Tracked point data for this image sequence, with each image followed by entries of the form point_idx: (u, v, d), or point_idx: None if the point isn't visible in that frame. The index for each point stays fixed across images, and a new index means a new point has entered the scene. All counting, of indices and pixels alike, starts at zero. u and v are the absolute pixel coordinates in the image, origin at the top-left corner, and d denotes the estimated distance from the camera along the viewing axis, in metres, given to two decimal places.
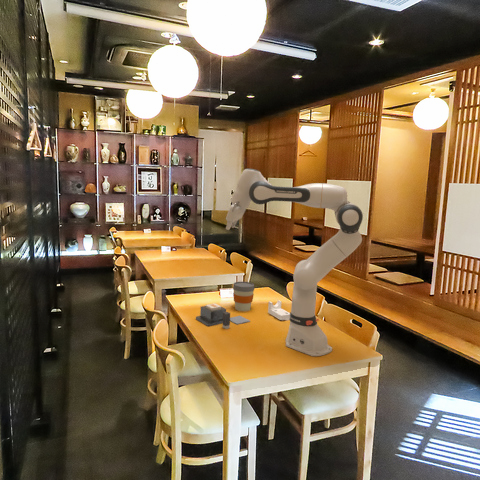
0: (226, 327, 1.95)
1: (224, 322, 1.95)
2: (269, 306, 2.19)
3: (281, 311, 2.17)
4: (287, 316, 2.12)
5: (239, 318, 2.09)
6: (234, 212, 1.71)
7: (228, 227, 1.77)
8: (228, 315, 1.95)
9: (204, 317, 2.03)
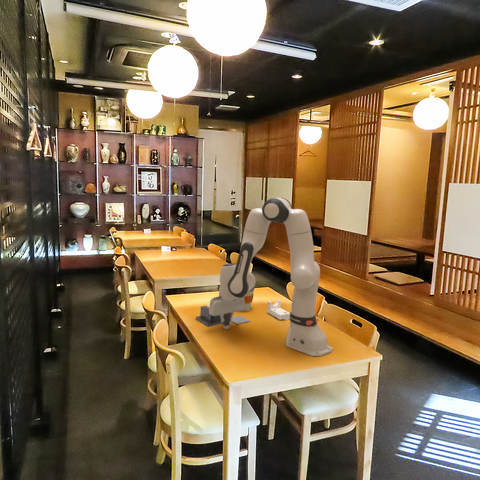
0: (226, 327, 1.95)
1: (224, 322, 1.95)
2: (268, 306, 2.20)
3: (280, 310, 2.17)
4: (286, 316, 2.12)
5: (239, 318, 2.09)
6: (212, 307, 1.88)
7: (222, 319, 1.94)
8: (228, 315, 1.95)
9: (204, 317, 2.03)
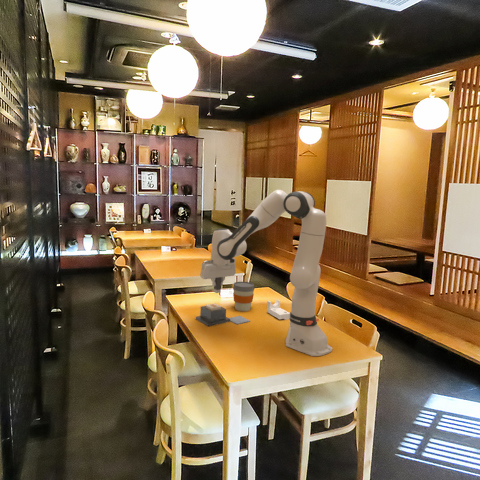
0: (217, 291, 1.99)
1: (215, 286, 1.99)
2: (268, 305, 2.20)
3: (280, 310, 2.18)
4: (286, 315, 2.13)
5: (239, 318, 2.09)
6: (204, 270, 1.91)
7: (213, 283, 1.97)
8: (219, 279, 1.98)
9: (204, 317, 2.03)
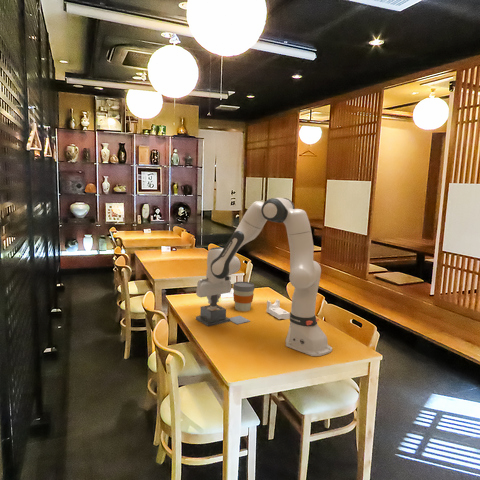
0: (213, 308, 2.03)
1: (211, 303, 2.03)
2: (267, 305, 2.21)
3: (280, 310, 2.18)
4: (285, 315, 2.13)
5: (239, 318, 2.09)
6: (199, 288, 1.96)
7: (209, 301, 2.02)
8: (215, 296, 2.03)
9: (204, 317, 2.03)
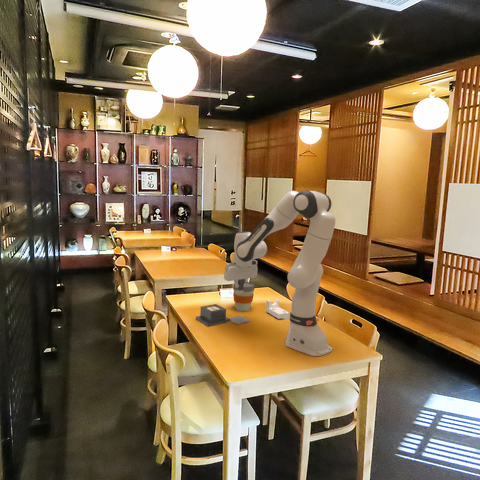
0: (240, 292, 2.04)
1: None
2: (267, 305, 2.21)
3: (279, 309, 2.19)
4: (285, 315, 2.14)
5: (239, 318, 2.09)
6: (227, 272, 1.97)
7: (236, 285, 2.03)
8: (242, 280, 2.03)
9: (204, 317, 2.03)
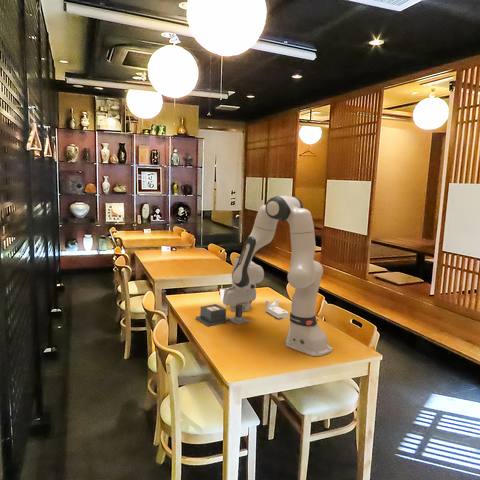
0: (239, 319, 2.06)
1: (237, 314, 2.06)
2: (266, 304, 2.22)
3: (278, 309, 2.19)
4: (284, 314, 2.14)
5: None
6: (226, 296, 1.99)
7: (232, 309, 2.03)
8: (240, 307, 2.06)
9: (204, 317, 2.03)
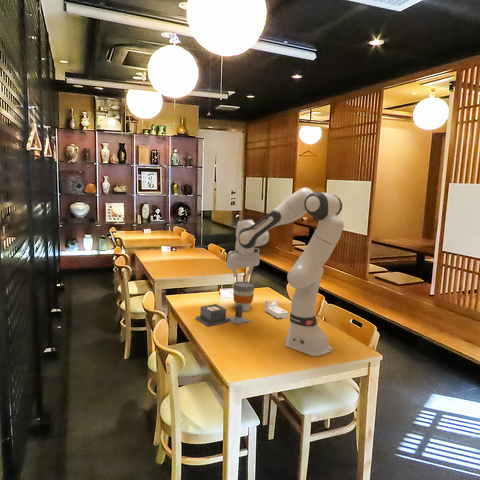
0: (239, 319, 2.06)
1: (237, 314, 2.06)
2: (266, 304, 2.22)
3: (278, 309, 2.19)
4: (284, 314, 2.14)
5: None
6: (229, 260, 1.96)
7: (234, 274, 2.00)
8: (240, 307, 2.06)
9: (204, 317, 2.03)
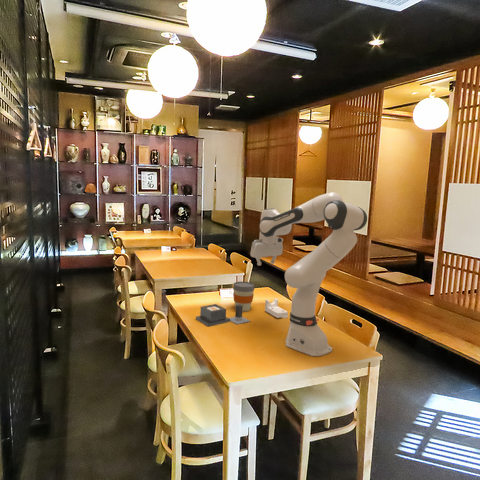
0: (239, 319, 2.06)
1: (237, 314, 2.06)
2: (266, 304, 2.23)
3: (278, 309, 2.20)
4: (283, 314, 2.15)
5: None
6: (254, 248, 1.98)
7: (258, 263, 2.02)
8: (240, 307, 2.06)
9: (204, 317, 2.03)
